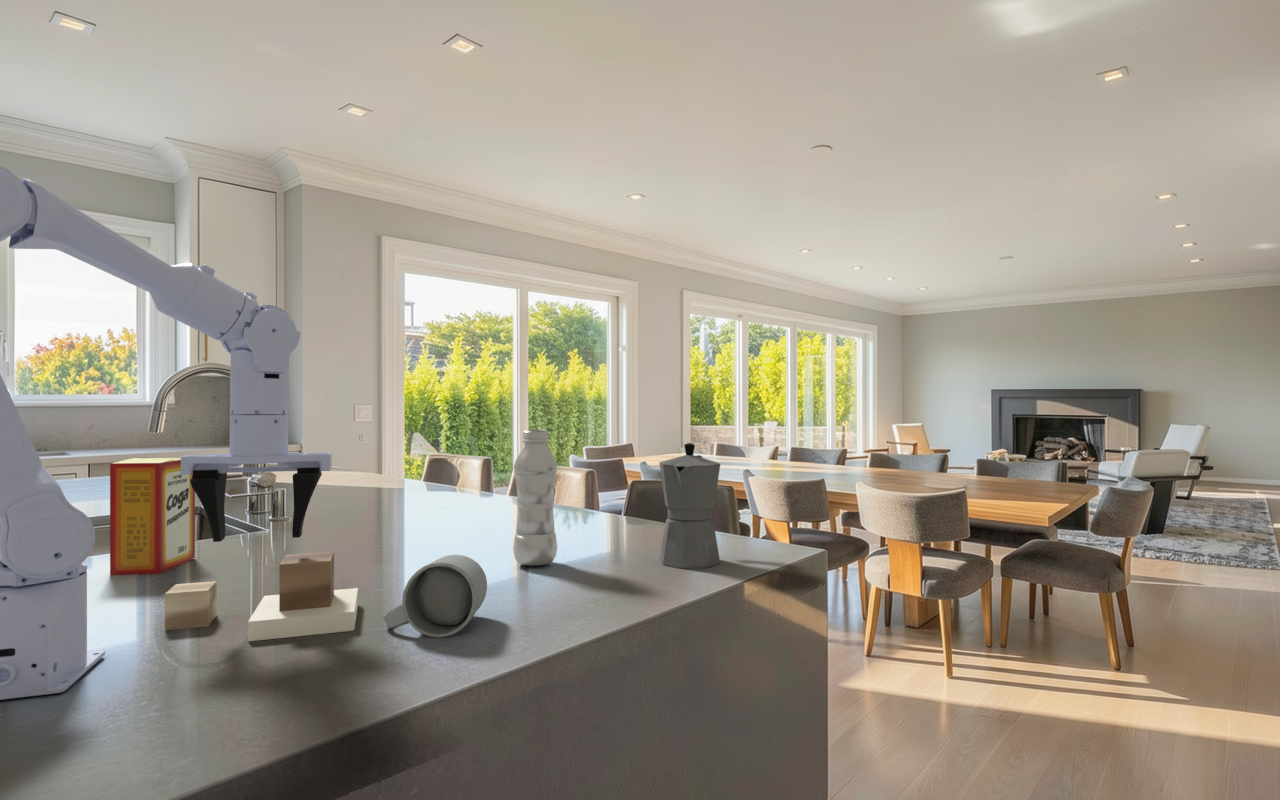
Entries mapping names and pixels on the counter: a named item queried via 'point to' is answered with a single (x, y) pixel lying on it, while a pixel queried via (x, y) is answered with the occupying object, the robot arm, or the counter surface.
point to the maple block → (190, 605)
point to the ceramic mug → (441, 597)
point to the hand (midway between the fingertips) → (258, 538)
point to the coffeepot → (689, 511)
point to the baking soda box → (150, 516)
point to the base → (303, 618)
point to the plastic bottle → (535, 501)
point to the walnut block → (306, 581)
